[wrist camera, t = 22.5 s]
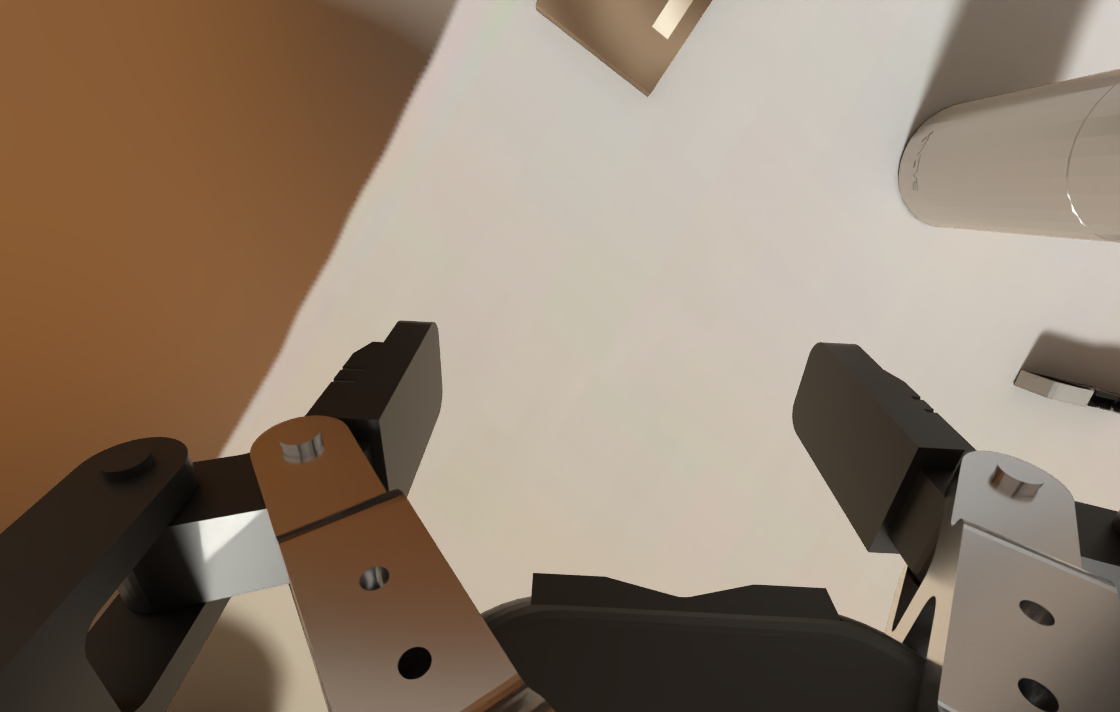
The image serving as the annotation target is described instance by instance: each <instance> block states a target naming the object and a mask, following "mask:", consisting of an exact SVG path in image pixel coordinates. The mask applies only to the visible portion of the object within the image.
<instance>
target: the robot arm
mask: <svg viewBox="0 0 1120 712" xmlns="http://www.w3.org/2000/svg"><path fill="white" fill-rule="evenodd" d="M899 189H900V193H901V196H902V200H903V202H904V203H905V205H906V207H907V208H908V210H909V211H910V212H911V213H912V214H913V215H914V216H915V217H916V218H917V219H919V220H921V221H922V222H924V223H926V224H929V225H932V226H936V227H946V228H958V229H969V230H978V231H990V232H1002V233H1014V234H1026V235H1037V236H1049V237H1061V238H1073V239H1085V240H1097V241H1109V242H1120V69H1116V70H1111V71H1107V72H1102V73H1098V74H1093V75H1089V76H1084V77H1080V78H1075V79H1071V80H1066V81H1062V82H1057V83H1052V84H1048V85H1043V86H1039V87H1034V88H1030V89H1025V90H1021V91H1016V92H1012V93H1007V94H1002V95H997V96H992V97H988V98H983V99H979V100H974V101H970V102H965V103H961V104H956V105H953V106H951V107H948V108H946V109H943V110H941V111H940V112H938V113H936V114H935V115H933V116H932V117H930V118H929V119H928V120H927V121H926V122H925V123H924V124H922V125H921V126H920V127H919V129H918V130H917V131H916V133H915V134H914V135H913V136H912V138H911V139H910V141H909V143H908V145H907V147H906V149H905V151H904V154H903V157H902V160H901V163H900V169H899ZM441 402H442V376H441V362H440V347H439V334H438V328H437V325H436V323H435V322H417V321H398V322H397V324H396V325H395V327H394V328H393V330H392V331H391V332H390V334H389V335H388V337H387V338H386V340H385V341H384V342H371V343H370V344H368V345H366V346H365V347H363V348H361V349H360V350H358V351H356V352H355V353H353V354H352V356H351V357H350V358H349V360H348V361H347V362H346V363H345V365H344V366H343V370H340V371H339V373H338V374H337V375H336V376H335V378H334V382H331V383H330V384H329V386H328V387H327V388H326V389H325V391H324V392H323V393H322V395H321V396H320V397H319V399H318V400H317V401H316V402H315V404H314V405H313V406H312V408H311V409H310V410H309V412H308V413H307V414H306V415H305V416H304V417H298V418H294V419H290V420H287V421H284V422H282V423H279V424H277V425H275V426H273V427H271V428H270V429H268V430H267V431H265V432H264V433H262V434H261V435H260V436H259V437H258V438H257V439H256V440H255V442H254V443H253V445H252V447H251V450H250V453H247V454H242V455H237V456H231V457H225V458H218V459H211V460H205V461H199V462H192V460H191V457H190V455H189V453H188V449H187V447H186V446H185V444H183V443H182V442H180V441H178V440H176V439H172V438H166V437H151V438H143V439H137V440H132V441H129V442H126V443H122V444H119V445H116V446H113V447H111V448H108V449H106V450H104V451H102V452H100V453H98V454H96V455H94V456H92V457H91V458H89V459H87V460H86V461H84V462H83V463H82V464H80V465H79V466H78V467H77V468H75V469H74V470H73V471H72V472H71V473H70V474H69V475H67V476H66V477H65V478H64V479H63V480H62V481H61V482H59V483H58V484H57V485H56V486H55V487H54V488H52V489H51V490H50V491H49V492H48V493H47V494H46V495H45V496H43V497H42V498H41V499H40V500H39V501H38V502H36V503H35V504H34V505H33V506H32V507H31V508H30V509H28V510H27V511H26V512H25V513H24V514H23V515H22V516H21V517H19V518H18V519H17V520H16V521H15V522H14V523H12V524H11V525H10V526H9V527H8V528H7V529H6V530H5V531H3V532H2V533H1V534H0V712H165V711H166V709H167V707H168V705H169V704H170V702H171V700H172V698H173V697H174V695H175V693H176V692H177V690H178V688H179V686H180V685H181V683H182V681H183V679H184V678H185V676H186V674H187V672H188V671H189V669H190V667H191V665H192V664H193V662H194V660H195V659H196V657H197V655H198V653H199V652H200V650H201V648H202V646H203V645H204V643H205V641H206V639H207V638H208V636H209V634H210V632H211V631H212V629H213V627H214V625H215V624H216V622H217V620H218V619H219V617H220V615H221V613H222V612H223V610H224V608H225V606H226V605H227V603H228V601H229V599H230V598H231V596H236V595H240V594H245V593H249V592H254V591H258V590H263V589H267V588H272V587H276V586H281V585H285V584H289V587H290V590H291V593H292V597H293V600H294V603H295V606H296V609H297V612H298V616H299V619H300V622H301V625H302V628H303V631H304V635H305V638H306V641H307V644H308V647H309V650H310V654H311V657H312V660H313V663H314V666H315V669H316V673H317V676H318V679H319V682H320V685H321V689H322V692H323V695H324V698H325V702H326V705H327V708H328V711H329V712H1120V510H1119V512H1117V511H1113V510H1109V509H1105V508H1101V507H1097V506H1093V505H1089V504H1084V503H1080V502H1076V501H1074V499H1073V496H1072V494H1071V493H1070V491H1069V490H1068V489H1067V488H1066V487H1065V486H1064V485H1063V484H1062V483H1061V482H1060V481H1059V480H1057V479H1056V478H1055V477H1053V476H1052V475H1050V474H1049V473H1047V472H1045V471H1044V470H1042V469H1040V468H1038V467H1036V466H1035V465H1032V464H1030V463H1028V462H1026V461H1023V460H1021V459H1018V458H1015V457H1012V456H1009V455H1006V454H1002V453H997V452H991V451H977V450H975V449H974V448H973V447H972V446H971V445H970V444H969V443H968V442H967V441H966V440H965V439H964V438H963V437H962V436H961V435H960V434H959V433H958V432H957V431H956V430H954V429H953V428H952V427H951V426H950V425H949V424H948V423H947V422H946V421H945V420H944V419H943V418H942V417H941V416H940V415H939V414H938V413H934V412H933V410H934V409H932V408H931V407H930V406H929V405H928V404H927V403H926V402H925V401H924V400H920V396H919V395H918V394H917V393H916V392H915V391H914V390H913V389H911V388H910V387H909V386H908V385H907V384H906V383H905V382H904V381H902V380H900V379H899V378H897V377H895V376H893V375H892V374H890V373H888V372H886V371H885V370H883V369H882V368H881V367H880V366H879V365H878V364H877V363H876V362H875V361H874V360H873V359H872V358H871V357H870V356H869V355H868V354H867V353H866V352H865V351H864V350H863V349H862V348H861V347H859V346H858V345H856V344H840V343H821V342H820V343H817V344H816V345H815V346H814V347H813V348H812V350H811V352H810V354H809V357H808V361H807V364H806V367H805V370H804V373H803V376H802V380H801V383H800V386H799V389H798V392H797V395H796V398H795V402H794V405H793V413H792V418H793V426H794V429H795V432H796V434H797V435H798V437H799V439H800V440H801V442H802V444H803V445H804V447H805V449H806V450H807V452H808V453H809V455H810V457H811V458H812V460H813V462H814V463H815V465H816V467H817V468H818V470H819V472H820V473H821V475H822V477H823V478H824V480H825V481H826V483H827V485H828V486H829V488H830V490H831V491H832V493H833V495H834V496H835V498H836V500H837V501H838V503H839V505H840V506H841V508H842V509H843V511H844V513H845V514H846V516H847V518H848V519H849V521H850V523H851V524H852V526H853V528H854V529H855V531H856V533H857V534H858V536H859V537H860V539H861V541H862V542H863V544H864V546H865V547H866V549H867V551H868V552H876V553H895V554H900V555H901V556H902V558H903V559H904V561H905V562H906V565H905V566H904V568H903V570H902V572H901V574H900V576H899V580H898V584H897V588H896V591H895V595H894V599H893V603H892V607H891V610H890V614H889V618H888V622H887V625H886V629H885V633H883V632H881V631H879V630H877V629H875V628H873V627H870V626H868V625H866V624H864V623H861V622H859V621H856V620H853V619H851V618H848V617H845V616H842V615H838V613H837V611H836V609H835V607H834V605H833V603H832V600H831V598H830V596H829V594H828V592H827V590H826V588H809V587H790V586H771V585H749V586H744V587H739V588H734V589H729V590H724V591H719V592H714V593H709V594H703V595H698V596H693V597H677V596H673V595H669V594H665V593H662V592H658V591H655V590H651V589H647V588H644V587H640V586H637V585H633V584H629V583H626V582H622V581H618V580H615V579H611V578H608V577H599V576H580V575H560V574H541V573H533V583H532V596H531V597H526V598H521V599H517V600H513V601H510V602H507V603H504V604H501V605H499V606H496V607H494V608H492V609H490V610H487V611H485V612H483V613H482V614H480V613H479V611H478V610H477V608H476V606H475V605H474V603H473V602H472V600H471V599H470V597H469V595H468V594H467V592H466V591H465V589H464V588H463V586H462V584H461V583H460V581H459V580H458V578H457V577H456V575H455V573H454V572H453V570H452V569H451V567H450V565H449V564H448V562H447V561H446V559H445V558H444V556H443V554H442V553H441V551H440V550H439V548H438V547H437V545H436V543H435V542H434V540H433V539H432V537H431V536H430V534H429V532H428V531H427V529H426V528H425V526H424V524H423V523H422V521H421V520H420V518H419V517H418V515H417V513H416V512H415V510H414V509H413V507H412V506H411V504H410V502H409V501H408V499H407V496H408V493H409V491H410V488H411V485H412V483H413V480H414V478H415V475H416V472H417V470H418V467H419V465H420V462H421V460H422V457H423V454H424V452H425V449H426V447H427V444H428V442H429V439H430V436H431V434H432V431H433V429H434V426H435V423H436V421H437V418H438V416H439V413H440V408H441ZM116 589H117V590H118V592H119V594H118V595H117V597H116V598H115V599H114V600H113V602H112V603H111V604H110V606H109V607H108V608H107V609H106V611H105V612H104V613H103V614H102V616H101V617H100V618H99V619H98V621H97V622H96V623H95V625H94V626H93V627H92V628H91V630H90V631H89V632H88V630H89V628H90V626H91V623H92V621H93V619H94V618H95V616H96V615H97V613H98V612H99V611H100V609H101V608H102V607H103V605H104V604H105V603H106V602H107V601H108V599H109V598H110V597H111V596H112V594H113V593H114V592H115V591H116Z"/></svg>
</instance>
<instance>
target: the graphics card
mask: <svg viewBox="0 0 1120 712" xmlns="http://www.w3.org/2000/svg"><path fill="white" fill-rule="evenodd" d="M1014 385H1015V386H1017V387H1020V388H1023V389H1025V390H1028V391H1031V392H1033V393H1036V394H1039V395H1041V396H1044V397H1046V398H1050V399H1053V400H1057V401H1062V402H1066V403H1070V404H1075V405H1079V406H1083V407H1086V406H1087V405H1088V406H1091V407H1093V406H1094V408H1095V407H1097V408H1100V409H1103V410H1108V411H1111V412H1114V413H1118V414H1120V394H1116V393H1112V392H1108V391H1103V390H1099V389H1098V388H1096V387H1095V388H1094V387H1092V386H1088V385H1083V384H1079V383H1075V382H1070V381H1066V380H1062V379H1057V378H1053V377H1049V376H1044V375H1040V374H1036V373H1031V372H1027V371H1023V370H1021V371H1020V373H1019V375H1018V377H1017V380H1016V382H1015V384H1014Z"/></svg>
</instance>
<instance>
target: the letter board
mask: <svg viewBox="0 0 1120 712" xmlns="http://www.w3.org/2000/svg"><path fill="white" fill-rule="evenodd" d="M711 1H712V0H538V1H537V3H536V10H537V11H538V12H540V13H541V14H542V15H543V16H545V17H546V18H547V19H549V20H550V21H551V22H552V23H554V24H555V25H556V26H557V27H559V28H560V29H561V30H563V31H564V32H565V33H566V34H568V35H569V36H570V37H572V38H573V39H574V40H575V41H577V42H578V43H579V44H581V45H582V46H583V47H584V48H586V49H587V50H588V51H589V52H591V53H592V54H593V55H595V56H596V57H597V58H598V59H600V60H601V61H602V62H604V63H605V64H606V65H607V66H609V67H610V68H611V69H613V70H614V71H615V72H616V73H618V74H619V75H620V76H621V77H623V78H624V79H625V80H627V81H628V82H629V83H630V84H632V85H633V86H634V87H636V88H637V89H638V90H639V91H641V92H642V93H643V94H645V95H646V96H647V97H648V96H649V95H650V93H651V92H652V90H653V89H654V87H655V86H656V84H657V83H658V81H659V80H660V78H661V77H662V75H663V74H664V72H665V71H666V69H667V68H668V66H669V65H670V63H671V62H672V60H673V59H674V57H675V56H676V54H677V53H678V51H679V50H680V48H681V47H682V45H683V44H684V42H685V41H686V39H687V38H688V36H689V35H690V33H691V32H692V30H693V29H694V27H695V26H696V24H697V23H698V21H699V20H700V18H701V17H702V15H703V13H704V12H705V10H706V9H707V7H708V6H709V4H710V3H711Z"/></svg>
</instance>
